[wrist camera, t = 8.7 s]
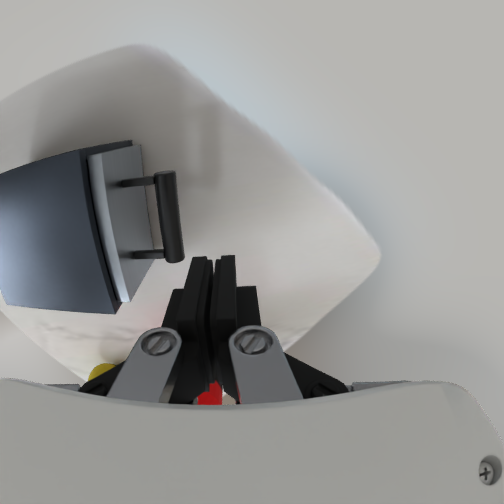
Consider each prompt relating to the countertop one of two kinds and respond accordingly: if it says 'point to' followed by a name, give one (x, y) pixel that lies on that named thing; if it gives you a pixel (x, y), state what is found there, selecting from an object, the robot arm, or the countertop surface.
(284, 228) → the countertop surface
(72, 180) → the cabinet
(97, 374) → the lemon
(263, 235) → the countertop surface
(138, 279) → the drawer
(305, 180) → the countertop surface
